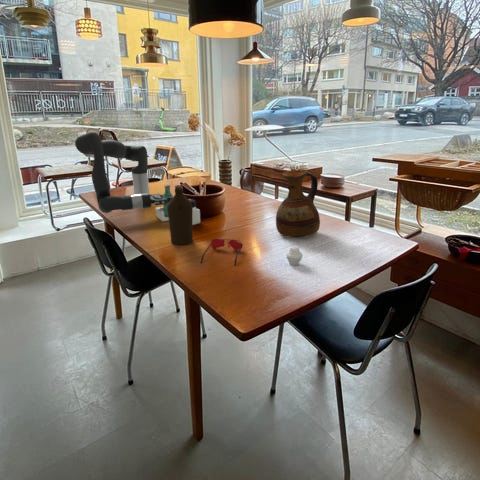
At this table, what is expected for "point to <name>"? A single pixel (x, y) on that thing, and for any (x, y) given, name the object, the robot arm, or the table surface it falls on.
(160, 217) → the cream U-rest
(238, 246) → the glasses
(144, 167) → the robot arm
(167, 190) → the green bottle
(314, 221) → the ceramic pitcher
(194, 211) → the medicine bottle
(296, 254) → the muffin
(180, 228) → the olive oil
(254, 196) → the table surface
